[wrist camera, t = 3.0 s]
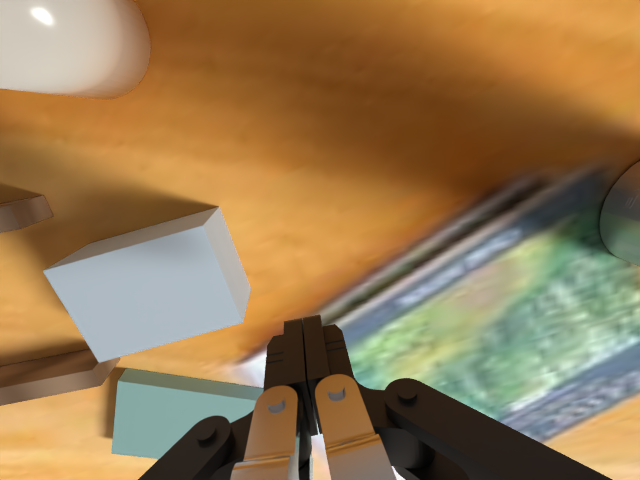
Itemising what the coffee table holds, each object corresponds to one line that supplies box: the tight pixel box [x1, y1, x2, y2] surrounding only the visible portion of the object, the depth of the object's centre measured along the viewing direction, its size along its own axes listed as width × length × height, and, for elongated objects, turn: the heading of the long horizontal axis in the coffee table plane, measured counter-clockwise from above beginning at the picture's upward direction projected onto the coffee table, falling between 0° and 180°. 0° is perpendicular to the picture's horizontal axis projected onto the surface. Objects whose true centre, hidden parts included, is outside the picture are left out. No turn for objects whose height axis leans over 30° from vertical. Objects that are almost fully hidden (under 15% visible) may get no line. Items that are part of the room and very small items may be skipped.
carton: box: [43, 207, 251, 363], centre depth 24 cm, size 10×7×5 cm
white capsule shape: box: [0, 0, 151, 100], centre depth 16 cm, size 7×7×9 cm
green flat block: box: [112, 368, 264, 459], centre depth 30 cm, size 12×8×2 cm, turn 75°
